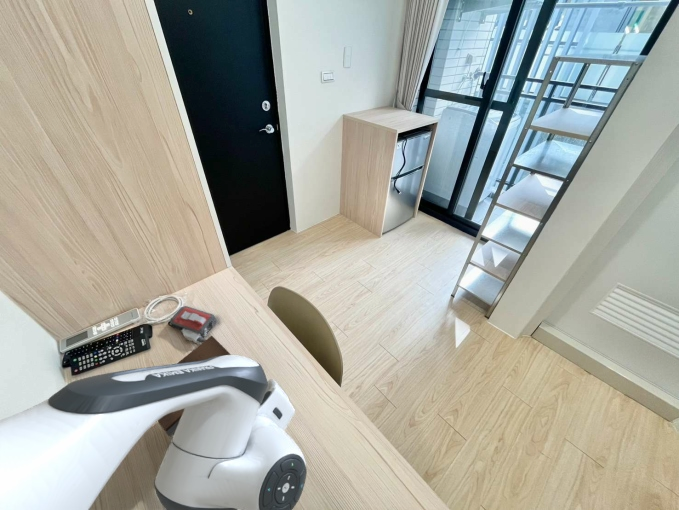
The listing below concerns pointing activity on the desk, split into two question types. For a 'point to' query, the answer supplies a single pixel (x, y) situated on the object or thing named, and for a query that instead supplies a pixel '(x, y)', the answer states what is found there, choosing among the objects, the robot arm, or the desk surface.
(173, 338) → the desk surface
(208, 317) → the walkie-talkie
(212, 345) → the cupboard
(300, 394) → the desk surface
